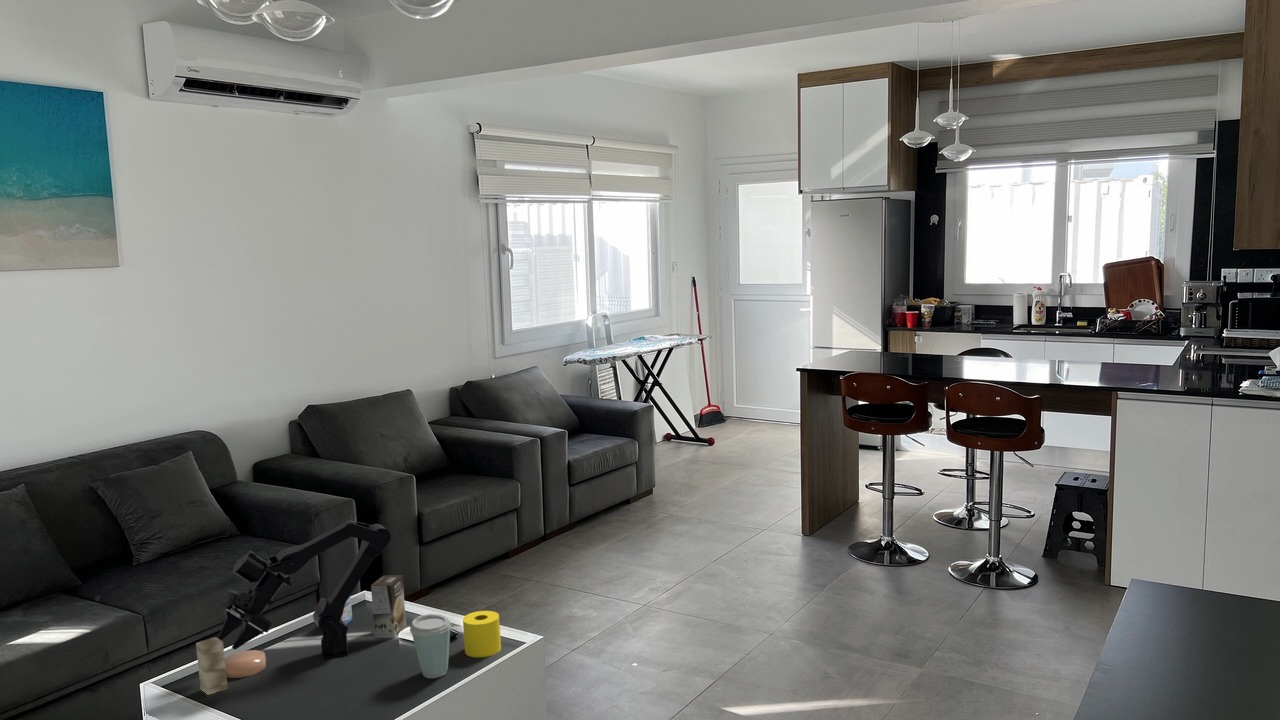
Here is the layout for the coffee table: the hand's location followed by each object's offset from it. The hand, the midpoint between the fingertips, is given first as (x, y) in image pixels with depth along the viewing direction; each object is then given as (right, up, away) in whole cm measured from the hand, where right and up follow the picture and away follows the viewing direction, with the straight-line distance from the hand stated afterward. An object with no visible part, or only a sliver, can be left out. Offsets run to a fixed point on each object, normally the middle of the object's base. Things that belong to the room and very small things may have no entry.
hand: (226, 644), depth 249 cm
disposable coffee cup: (+54, -9, +2) cm, 55 cm away
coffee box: (+35, -6, +32) cm, 48 cm away
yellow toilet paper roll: (+65, -7, +16) cm, 67 cm away
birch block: (-2, -12, -2) cm, 12 cm away
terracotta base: (+1, -10, +10) cm, 14 cm away
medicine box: (+17, -6, +40) cm, 44 cm away
